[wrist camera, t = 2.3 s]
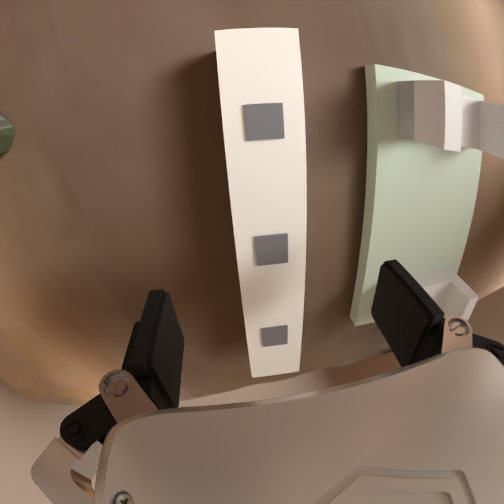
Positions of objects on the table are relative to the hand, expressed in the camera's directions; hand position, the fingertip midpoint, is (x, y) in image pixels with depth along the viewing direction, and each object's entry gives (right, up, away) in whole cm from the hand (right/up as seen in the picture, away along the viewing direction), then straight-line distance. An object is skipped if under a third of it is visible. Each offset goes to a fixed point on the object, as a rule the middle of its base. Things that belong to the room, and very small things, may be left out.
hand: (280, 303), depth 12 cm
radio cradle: (+13, +6, +9) cm, 17 cm away
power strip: (-1, +5, +8) cm, 10 cm away
